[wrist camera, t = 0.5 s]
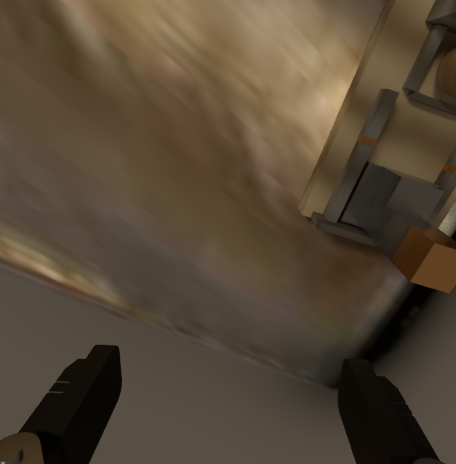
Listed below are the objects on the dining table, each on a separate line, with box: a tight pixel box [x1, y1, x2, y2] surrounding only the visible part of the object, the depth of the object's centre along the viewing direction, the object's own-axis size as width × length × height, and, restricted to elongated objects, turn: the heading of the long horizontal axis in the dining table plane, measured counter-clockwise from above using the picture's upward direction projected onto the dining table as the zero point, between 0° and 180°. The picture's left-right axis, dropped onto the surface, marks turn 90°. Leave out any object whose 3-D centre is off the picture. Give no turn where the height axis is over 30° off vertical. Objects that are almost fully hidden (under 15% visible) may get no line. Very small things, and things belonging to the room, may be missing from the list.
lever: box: [339, 161, 456, 293], centre depth 28 cm, size 6×7×11 cm
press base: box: [298, 0, 456, 248], centre depth 29 cm, size 22×14×7 cm, turn 163°
